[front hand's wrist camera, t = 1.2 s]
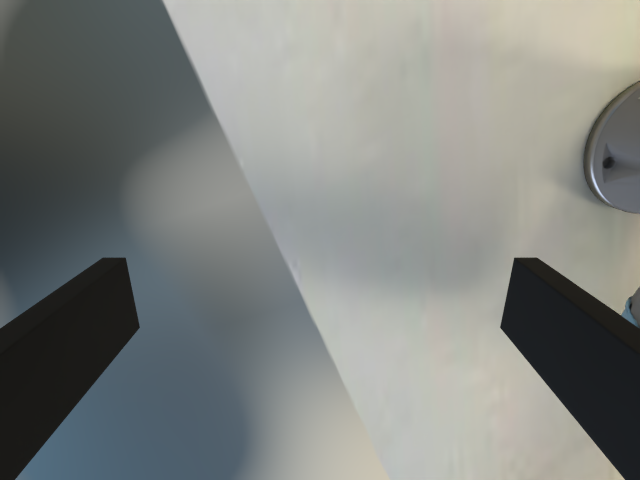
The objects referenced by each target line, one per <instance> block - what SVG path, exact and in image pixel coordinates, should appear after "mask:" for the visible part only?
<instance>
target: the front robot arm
mask: <svg viewBox="0 0 640 480" xmlns="http://www.w3.org/2000/svg"><path fill="white" fill-rule="evenodd" d="M584 172H585V177H586V180H587V183H588V185H589V187H590V189H591V191H592V192H593V193H594V195H595V196H596V197H597V198H598V199H599V200H601V201H602V202H603V203H605V204H607V205H609V206H611V207H614V208H617V209H620V210H622V211H625V212H630V213H637V214H640V82H638V83H636V84H634V85H633V86H631V87H629V88H628V89H627V90H625V91H624V92H622V93H621V94H620V95H619V96H618V97H616V98H615V99H614V100H613V101H612V102H611V103H610V104H609V105H608V107H607V108H606V109H605V110H604V111H603V113H602V114H601V115H600V117H599V118H598V120H597V121H596V123H595V125H594V127H593V129H592V131H591V133H590V135H589V138H588V141H587V144H586V148H585V154H584ZM139 328H140V327H139V322H138V317H137V312H136V307H135V302H134V297H133V292H132V287H131V282H130V277H129V272H128V267H127V262H126V258H102V259H100V260H99V261H97V262H96V263H95V264H93V265H92V266H90V267H89V268H87V269H86V270H84V271H83V272H82V273H80V274H79V275H77V276H76V277H74V278H73V279H71V280H70V281H68V282H67V283H66V284H64V285H63V286H61V287H60V288H58V289H57V290H55V291H54V292H53V293H51V294H50V295H48V296H47V297H45V298H44V299H42V300H41V301H39V302H38V303H37V304H35V305H34V306H32V307H31V308H29V309H28V310H26V311H25V312H24V313H22V314H21V315H19V316H18V317H16V318H15V319H13V320H12V321H11V322H9V323H8V324H6V325H5V326H3V327H2V328H0V480H15V479H16V478H17V476H18V475H19V474H20V473H21V472H22V470H23V469H24V468H25V467H26V465H27V464H28V463H29V462H30V461H31V459H32V458H33V457H34V456H35V455H36V453H37V452H38V451H39V450H40V448H41V447H42V446H43V445H44V444H45V442H46V441H47V440H48V439H49V437H50V436H51V435H52V434H53V433H54V431H55V430H56V429H57V428H58V426H59V425H60V424H61V423H62V422H63V420H64V419H65V418H66V417H67V416H68V414H69V413H70V412H71V411H72V409H73V408H74V407H75V406H76V404H77V403H78V402H79V401H80V400H81V398H82V397H83V396H84V395H85V394H86V392H87V391H88V390H89V389H90V387H91V386H92V385H93V384H94V383H95V381H96V380H97V379H98V378H99V376H100V375H101V374H102V373H103V372H104V370H105V369H106V368H107V367H108V366H109V364H110V363H111V362H112V361H113V359H114V358H115V357H116V356H117V355H118V353H119V352H120V351H121V350H122V349H123V347H124V346H125V345H126V344H127V342H128V341H129V340H130V339H131V338H132V336H133V335H134V334H135V333H136V331H137V330H138V329H139ZM500 328H501V329H502V330H503V331H504V333H505V334H506V335H507V336H508V338H509V339H510V340H511V341H512V342H513V344H514V345H515V346H516V347H517V349H518V350H519V351H520V352H521V353H522V355H523V356H524V357H525V358H526V359H527V361H528V362H529V363H530V364H531V366H532V367H533V368H534V369H535V370H536V372H537V373H538V374H539V375H540V377H541V378H542V379H543V380H544V381H545V383H546V384H547V385H548V386H549V387H550V389H551V390H552V391H553V392H554V394H555V395H556V396H557V397H558V398H559V400H560V401H561V402H562V403H563V405H564V406H565V407H566V408H567V409H568V411H569V412H570V413H571V414H572V416H573V417H574V418H575V419H576V420H577V422H578V423H579V424H580V425H581V426H582V428H583V429H584V430H585V431H586V433H587V434H588V435H589V436H590V437H591V439H592V440H593V441H594V442H595V444H596V445H597V446H598V447H599V448H600V450H601V451H602V452H603V453H604V455H605V456H606V457H607V458H608V459H609V461H610V462H611V463H612V464H613V465H614V467H615V468H616V469H617V470H618V472H619V473H620V474H621V475H622V476H623V478H624V479H625V480H640V287H639V288H638V290H637V291H636V292H635V294H634V295H633V296H632V297H629V299H628V300H627V302H626V305H625V310H624V312H623V313H622V315H619V314H618V313H616V312H615V311H614V310H612V309H611V308H609V307H608V306H606V305H605V304H603V303H602V302H601V301H599V300H598V299H596V298H595V297H593V296H592V295H590V294H589V293H587V292H586V291H585V290H583V289H582V288H580V287H579V286H577V285H576V284H574V283H573V282H572V281H570V280H569V279H567V278H566V277H564V276H563V275H561V274H560V273H558V272H557V271H556V270H554V269H553V268H551V267H550V266H548V265H547V264H545V263H544V262H543V261H541V260H540V259H538V258H514V262H513V267H512V272H511V277H510V282H509V287H508V292H507V297H506V302H505V307H504V312H503V317H502V322H501V326H500Z"/></svg>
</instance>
